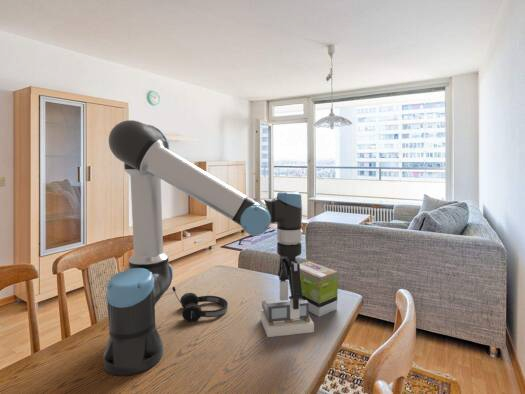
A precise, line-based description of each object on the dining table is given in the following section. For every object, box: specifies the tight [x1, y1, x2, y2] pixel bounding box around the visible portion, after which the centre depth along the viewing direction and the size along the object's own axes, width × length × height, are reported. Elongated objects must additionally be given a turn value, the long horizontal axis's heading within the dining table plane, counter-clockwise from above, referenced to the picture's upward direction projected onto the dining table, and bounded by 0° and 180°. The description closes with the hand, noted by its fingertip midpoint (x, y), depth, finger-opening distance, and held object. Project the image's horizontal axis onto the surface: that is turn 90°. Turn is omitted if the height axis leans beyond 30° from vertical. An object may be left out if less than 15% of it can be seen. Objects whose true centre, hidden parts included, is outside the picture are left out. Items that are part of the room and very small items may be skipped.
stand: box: [260, 310, 315, 338], centre depth 101 cm, size 11×15×4 cm
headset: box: [172, 286, 229, 323], centre depth 111 cm, size 14×10×20 cm
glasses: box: [261, 300, 310, 322], centre depth 102 cm, size 11×13×5 cm
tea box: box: [299, 260, 339, 318], centre depth 114 cm, size 15×10×15 cm, turn 37°
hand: (288, 308), depth 98 cm, fingers open, 12 cm apart
